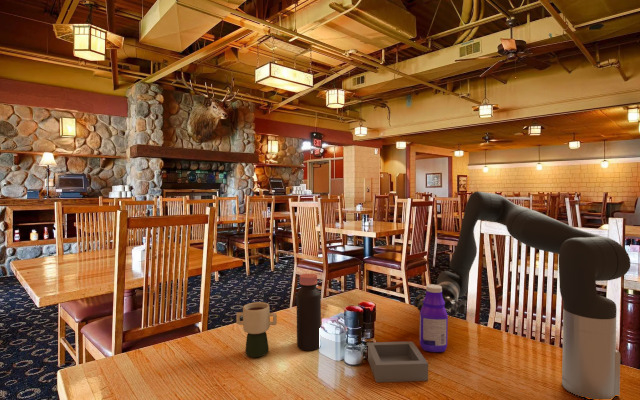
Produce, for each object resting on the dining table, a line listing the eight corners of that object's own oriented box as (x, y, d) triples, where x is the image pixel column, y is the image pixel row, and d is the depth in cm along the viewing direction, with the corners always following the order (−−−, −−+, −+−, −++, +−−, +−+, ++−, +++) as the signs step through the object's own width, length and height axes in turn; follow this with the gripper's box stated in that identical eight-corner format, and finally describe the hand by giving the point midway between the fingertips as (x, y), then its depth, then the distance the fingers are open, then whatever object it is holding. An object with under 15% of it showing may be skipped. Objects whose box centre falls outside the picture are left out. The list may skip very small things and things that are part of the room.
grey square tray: (412, 356, 96) (412, 341, 95) (428, 380, 84) (428, 363, 83) (367, 357, 95) (367, 342, 95) (376, 382, 83) (376, 365, 83)
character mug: (279, 348, 101) (278, 302, 101) (274, 360, 94) (274, 310, 93) (240, 347, 102) (239, 301, 101) (233, 359, 95) (232, 310, 94)
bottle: (444, 344, 102) (444, 283, 102) (449, 354, 97) (449, 289, 96) (418, 344, 103) (418, 283, 102) (421, 353, 97) (421, 288, 97)
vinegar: (321, 351, 99) (320, 278, 98) (296, 351, 99) (295, 278, 98) (321, 340, 106) (320, 272, 105) (297, 341, 106) (296, 272, 105)
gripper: (422, 281, 120) (410, 294, 106) (469, 286, 114) (463, 301, 99) (422, 304, 120) (410, 320, 106) (469, 310, 114) (463, 328, 99)
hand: (436, 310), depth 103 cm, fingers open, 8 cm apart
